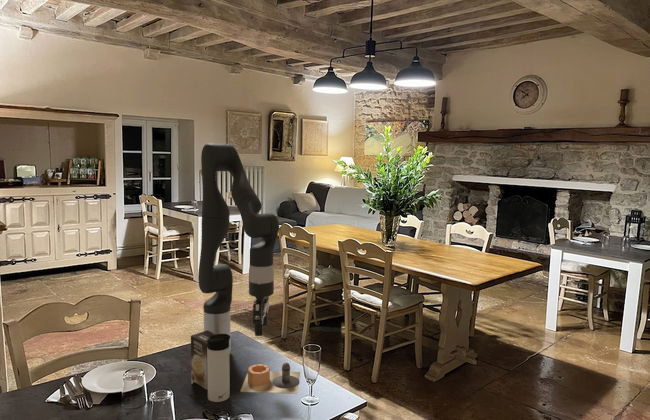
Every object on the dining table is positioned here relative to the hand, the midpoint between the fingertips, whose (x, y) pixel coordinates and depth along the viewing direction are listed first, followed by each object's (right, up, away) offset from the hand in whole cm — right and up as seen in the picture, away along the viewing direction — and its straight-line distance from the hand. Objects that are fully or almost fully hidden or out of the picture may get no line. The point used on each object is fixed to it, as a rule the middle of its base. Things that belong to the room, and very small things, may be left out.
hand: (261, 330), depth 147 cm
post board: (+3, -18, +3) cm, 18 cm away
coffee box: (-17, -18, +2) cm, 25 cm away
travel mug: (-11, -19, -7) cm, 23 cm away
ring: (-1, -17, +2) cm, 17 cm away
